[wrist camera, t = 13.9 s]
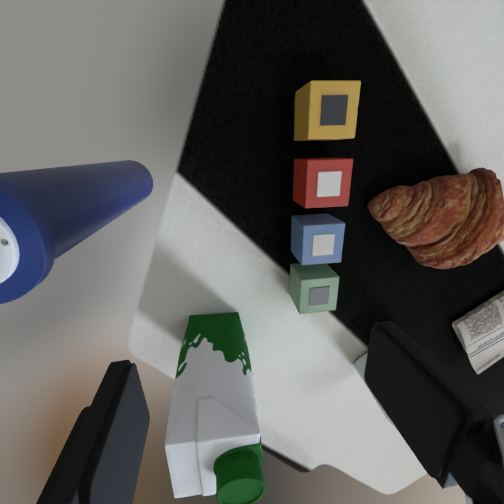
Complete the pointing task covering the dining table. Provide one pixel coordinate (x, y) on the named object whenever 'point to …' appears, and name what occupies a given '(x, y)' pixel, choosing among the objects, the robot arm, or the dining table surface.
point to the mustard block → (326, 110)
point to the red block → (322, 182)
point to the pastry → (444, 217)
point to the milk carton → (215, 415)
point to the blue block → (317, 238)
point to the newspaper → (483, 333)
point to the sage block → (313, 287)
